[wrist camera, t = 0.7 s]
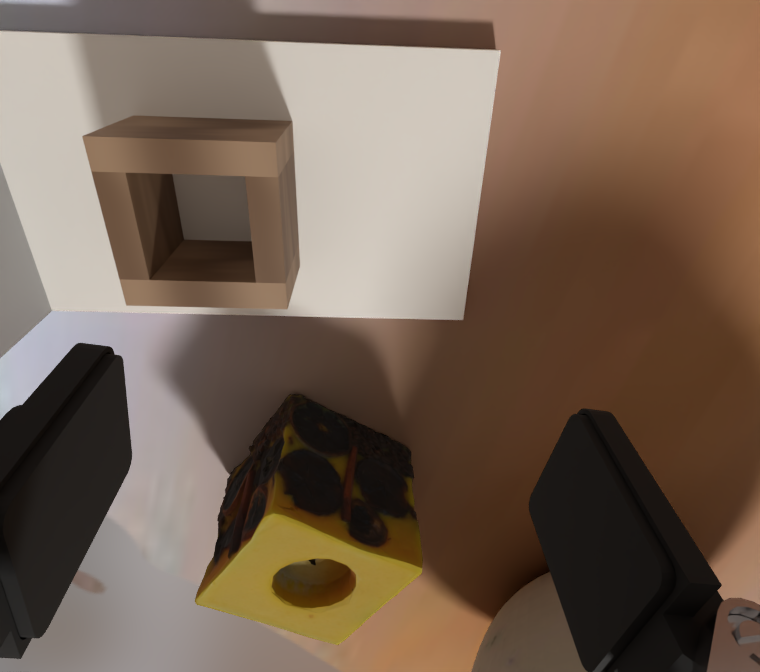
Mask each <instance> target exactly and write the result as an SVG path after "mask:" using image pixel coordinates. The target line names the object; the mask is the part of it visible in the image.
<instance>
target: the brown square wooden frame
mask: <svg viewBox="0 0 760 672" xmlns="http://www.w3.org/2000/svg"><path fill="white" fill-rule="evenodd" d="M82 138H83V142H84V145H85V149H86V153H87V157H88V161H89V165H90V168H91V172H92V176H93V180H94V184H95V188H96V191H97V195H98V199H99V203H100V207H101V211H102V214H103V218H104V222H105V226H106V230H107V234H108V238H109V241H110V245H111V249H112V253H113V257H114V261H115V264H116V268H117V272H118V276H119V280H120V284H121V287H122V291H123V295H124V299H125V303H126V306H165V307H209V308H252V309H288V306H289V302H290V299H291V295H292V292H293V289H294V285H295V282H296V278H297V275H298V271H299V268H300V254H299V235H298V216H297V198H296V179H295V160H294V141H293V122H292V121H280V120H251V119H222V118H193V117H163V116H134V115H133V116H131V117H128V118H126V119H123V120H121V121H118V122H116V123H113V124H111V125H108V126H106V127H103V128H101V129H98V130H96V131H94V132H91V133H89V134H86V135H84V136H82ZM172 174H188V175H221V176H245V183H246V192H247V202H248V211H249V221H250V230H251V240H252V241H218V240H184V237H183V231H182V225H181V220H180V214H179V209H178V203H177V197H176V192H175V186H174V181H173V175H172Z"/></svg>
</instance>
